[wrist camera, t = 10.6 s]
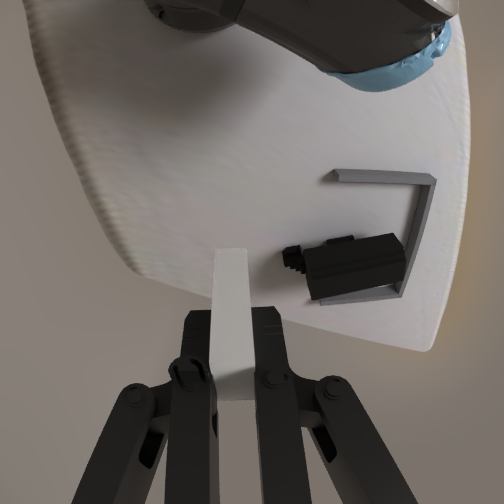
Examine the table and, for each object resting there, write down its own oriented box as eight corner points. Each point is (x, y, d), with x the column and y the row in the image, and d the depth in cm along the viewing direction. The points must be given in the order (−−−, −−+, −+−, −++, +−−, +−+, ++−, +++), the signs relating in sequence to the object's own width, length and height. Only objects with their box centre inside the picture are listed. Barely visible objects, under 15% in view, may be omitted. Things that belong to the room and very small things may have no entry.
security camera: (279, 236, 50) (288, 276, 41) (385, 217, 48) (412, 251, 40) (284, 269, 54) (293, 311, 45) (383, 250, 52) (406, 286, 44)
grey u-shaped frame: (334, 168, 43) (339, 174, 41) (429, 173, 44) (436, 179, 42) (317, 296, 58) (320, 305, 56) (396, 289, 58) (401, 297, 56)
